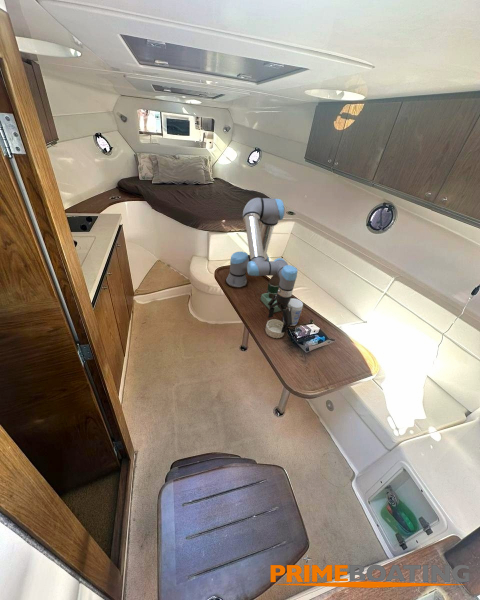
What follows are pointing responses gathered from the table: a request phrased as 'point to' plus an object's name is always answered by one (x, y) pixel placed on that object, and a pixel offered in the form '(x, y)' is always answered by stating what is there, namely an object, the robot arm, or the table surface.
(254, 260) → the robot arm
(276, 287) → the brown glass bottle
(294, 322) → the supplement tub
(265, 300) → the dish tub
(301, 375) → the table surface
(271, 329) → the cream ribbed bowl
